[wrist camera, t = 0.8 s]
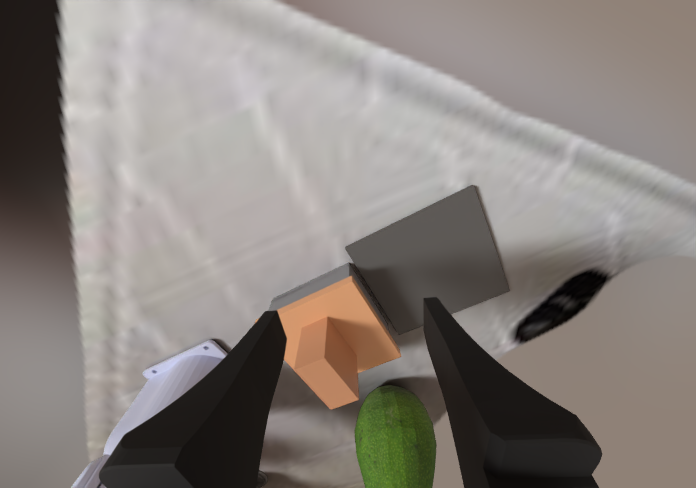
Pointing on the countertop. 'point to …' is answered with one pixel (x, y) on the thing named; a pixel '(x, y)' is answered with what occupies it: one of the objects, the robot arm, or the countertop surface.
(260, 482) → the candlestick holder
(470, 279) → the mat
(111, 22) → the countertop surface
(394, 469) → the avocado
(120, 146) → the countertop surface
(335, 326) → the lid
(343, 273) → the box
